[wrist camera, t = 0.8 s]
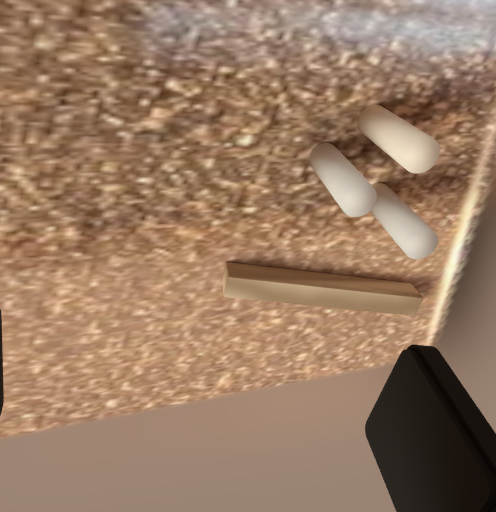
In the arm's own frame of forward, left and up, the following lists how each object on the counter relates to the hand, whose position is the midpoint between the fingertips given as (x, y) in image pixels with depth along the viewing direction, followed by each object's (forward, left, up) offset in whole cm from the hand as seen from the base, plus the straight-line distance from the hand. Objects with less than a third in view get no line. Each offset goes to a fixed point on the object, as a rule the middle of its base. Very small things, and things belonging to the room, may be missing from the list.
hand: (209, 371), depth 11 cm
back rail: (+14, +14, -27) cm, 33 cm away
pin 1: (+2, +11, -27) cm, 29 cm away
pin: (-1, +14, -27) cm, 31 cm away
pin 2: (+5, +17, -27) cm, 32 cm away
